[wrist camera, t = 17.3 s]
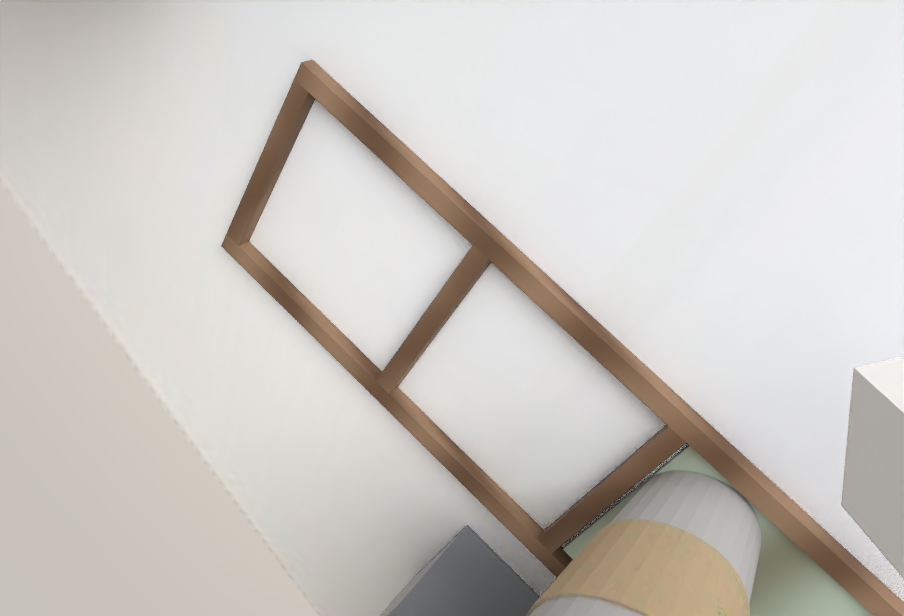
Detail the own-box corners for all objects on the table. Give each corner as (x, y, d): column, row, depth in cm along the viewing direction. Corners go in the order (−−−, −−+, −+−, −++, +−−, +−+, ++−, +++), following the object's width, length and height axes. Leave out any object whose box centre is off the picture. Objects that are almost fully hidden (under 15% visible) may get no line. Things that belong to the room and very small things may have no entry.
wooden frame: (231, 241, 49) (221, 246, 48) (312, 59, 41) (301, 62, 40) (718, 721, 43) (714, 732, 43) (924, 621, 35) (922, 634, 35)
